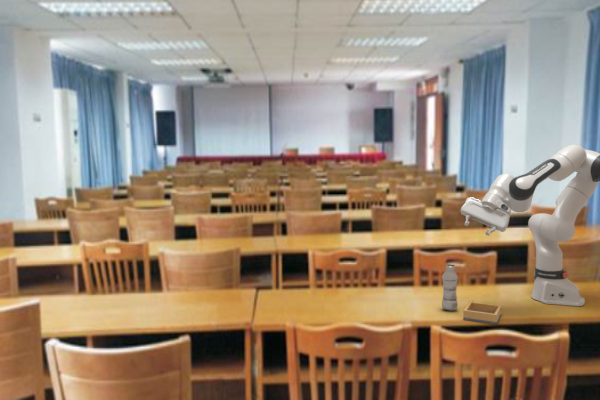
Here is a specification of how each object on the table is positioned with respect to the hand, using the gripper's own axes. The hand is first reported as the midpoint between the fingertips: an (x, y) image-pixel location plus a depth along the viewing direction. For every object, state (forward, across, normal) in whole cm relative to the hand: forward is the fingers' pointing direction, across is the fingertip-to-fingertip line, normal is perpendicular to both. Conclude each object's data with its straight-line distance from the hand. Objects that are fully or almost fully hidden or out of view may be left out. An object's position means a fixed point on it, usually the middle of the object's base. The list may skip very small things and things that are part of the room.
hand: (476, 229), depth 232 cm
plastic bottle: (+30, +3, +23) cm, 38 cm away
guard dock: (+27, +17, +18) cm, 37 cm away
